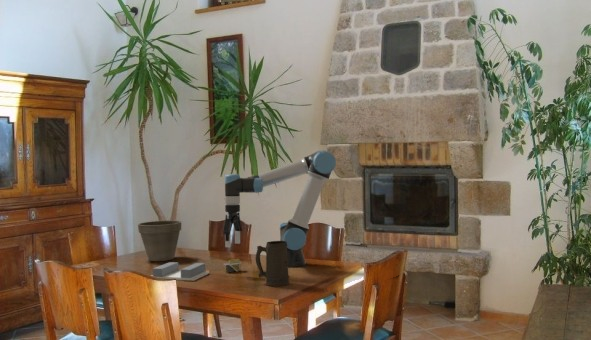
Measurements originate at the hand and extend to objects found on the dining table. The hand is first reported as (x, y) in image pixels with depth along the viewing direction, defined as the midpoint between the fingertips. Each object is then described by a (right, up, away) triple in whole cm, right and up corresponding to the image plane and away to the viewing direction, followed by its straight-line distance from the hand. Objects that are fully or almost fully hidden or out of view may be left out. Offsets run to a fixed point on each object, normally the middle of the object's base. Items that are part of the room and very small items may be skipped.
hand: (232, 245), depth 322 cm
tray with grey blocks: (-26, -14, -9) cm, 31 cm away
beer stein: (+22, -14, -32) cm, 41 cm away
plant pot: (-47, -14, +44) cm, 65 cm away
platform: (0, -14, 0) cm, 14 cm away
